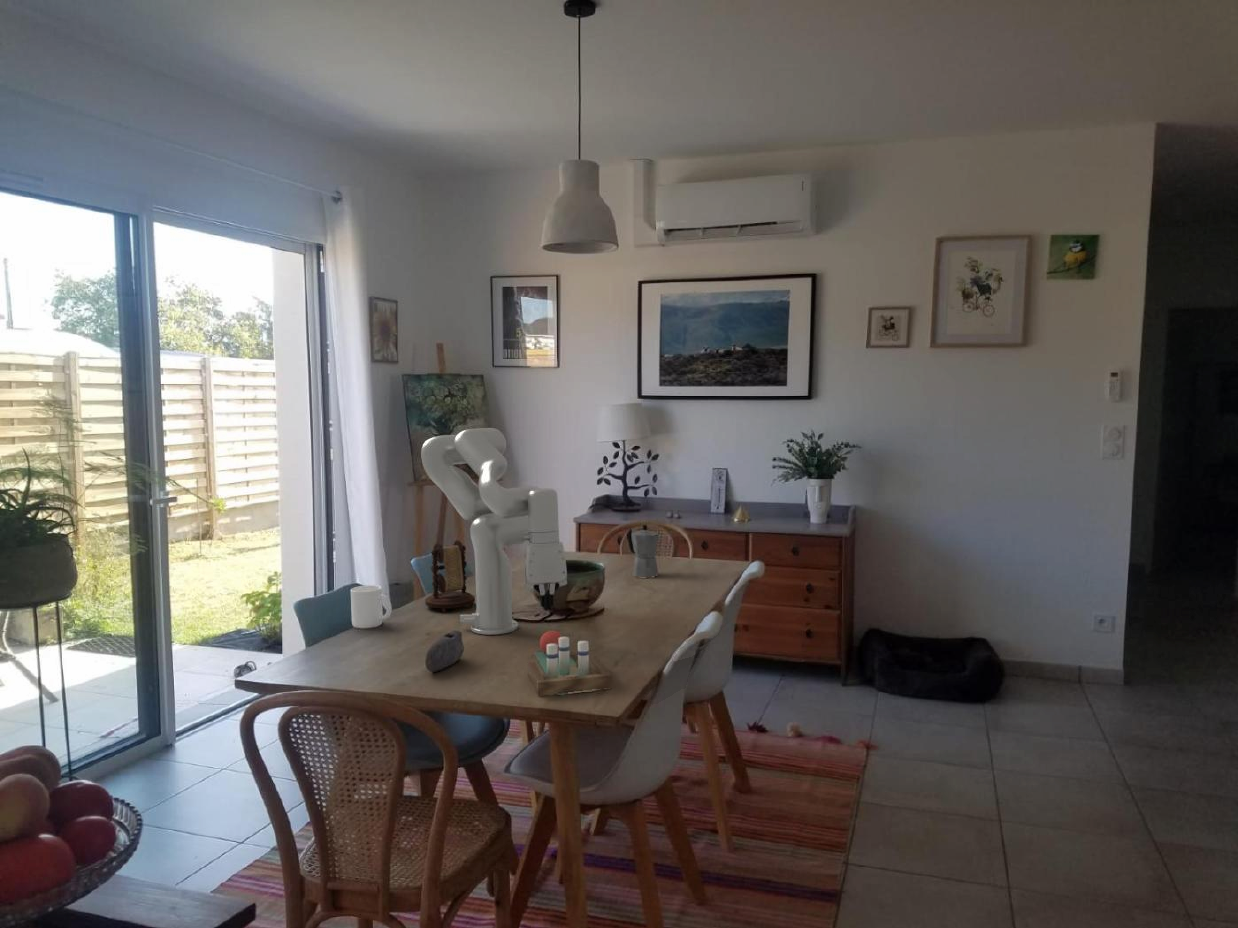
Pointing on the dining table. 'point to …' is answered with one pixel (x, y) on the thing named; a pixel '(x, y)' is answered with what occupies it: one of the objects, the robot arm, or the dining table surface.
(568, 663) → the pin front
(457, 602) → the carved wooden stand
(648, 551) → the coffeepot
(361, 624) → the mug
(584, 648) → the pin right
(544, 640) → the ball
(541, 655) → the strip
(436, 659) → the perforated stone tool
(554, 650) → the pin left
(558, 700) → the dining table surface
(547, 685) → the backstop
